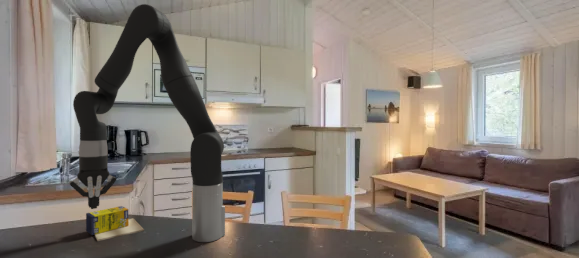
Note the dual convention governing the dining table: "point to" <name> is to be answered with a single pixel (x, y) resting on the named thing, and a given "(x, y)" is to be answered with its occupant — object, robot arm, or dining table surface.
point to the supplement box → (106, 220)
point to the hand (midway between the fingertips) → (93, 208)
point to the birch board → (120, 231)
